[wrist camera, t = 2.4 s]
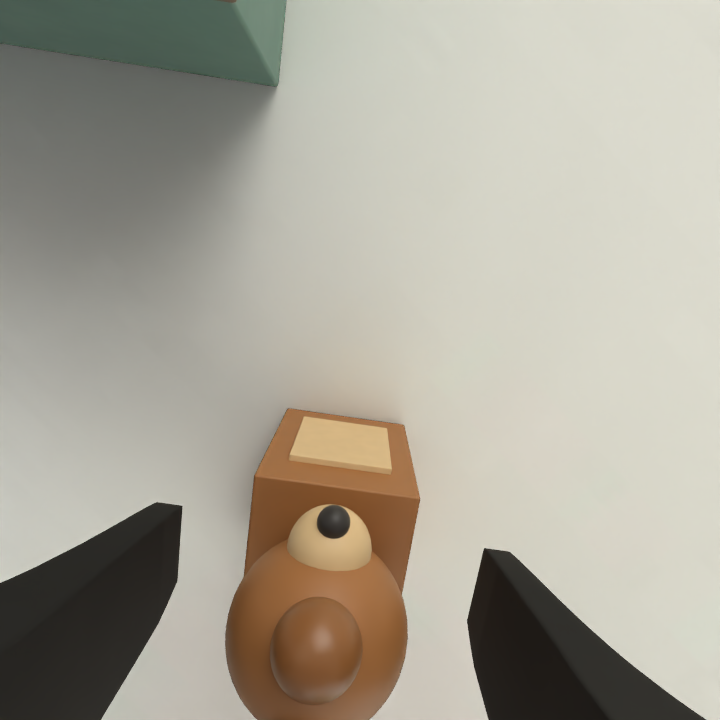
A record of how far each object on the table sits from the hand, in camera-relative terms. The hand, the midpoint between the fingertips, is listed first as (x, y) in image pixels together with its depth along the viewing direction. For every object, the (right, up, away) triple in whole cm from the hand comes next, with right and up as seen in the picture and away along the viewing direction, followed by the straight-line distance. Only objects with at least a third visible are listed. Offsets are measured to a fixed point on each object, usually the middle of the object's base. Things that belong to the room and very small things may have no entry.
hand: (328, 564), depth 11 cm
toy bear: (0, +1, +4) cm, 4 cm away
